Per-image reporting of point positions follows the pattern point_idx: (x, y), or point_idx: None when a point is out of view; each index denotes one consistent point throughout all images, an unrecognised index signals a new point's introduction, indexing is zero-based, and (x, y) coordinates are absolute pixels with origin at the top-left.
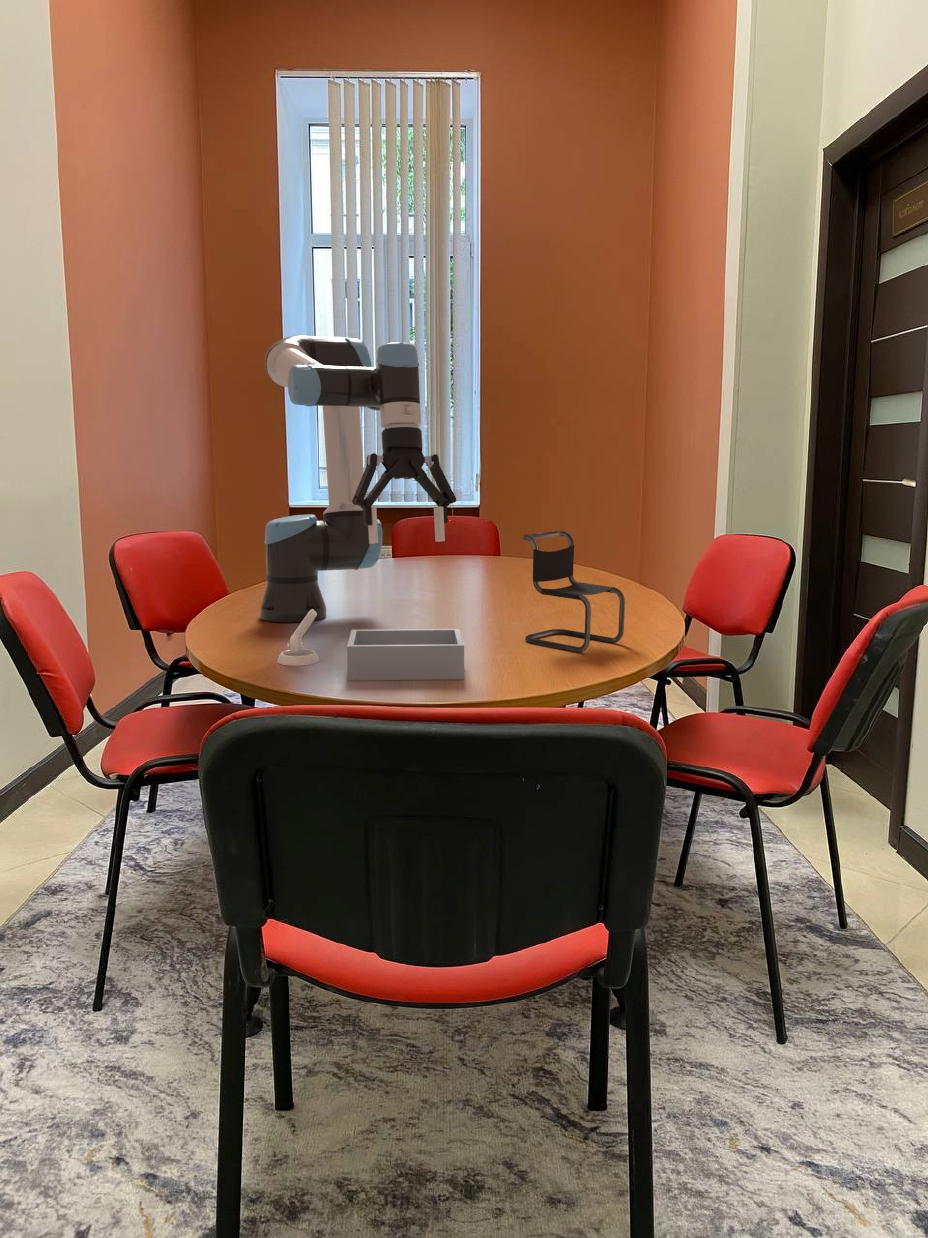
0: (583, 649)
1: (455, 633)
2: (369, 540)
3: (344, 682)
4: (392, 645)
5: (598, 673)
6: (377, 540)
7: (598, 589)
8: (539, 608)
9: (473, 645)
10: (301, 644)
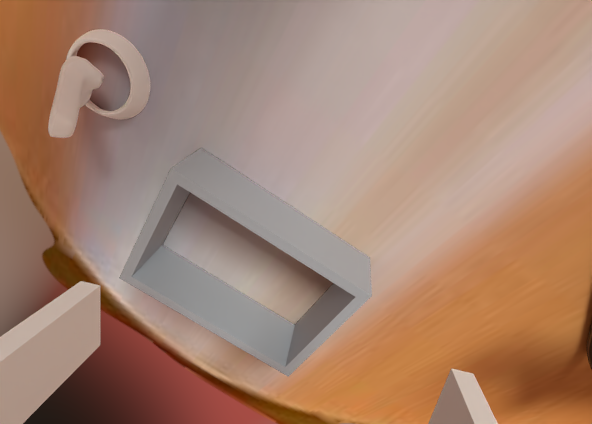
0: (588, 359)
1: (335, 317)
2: (69, 294)
3: None
4: (188, 314)
5: None
6: (89, 351)
7: None
8: None
9: (494, 184)
10: (92, 88)
